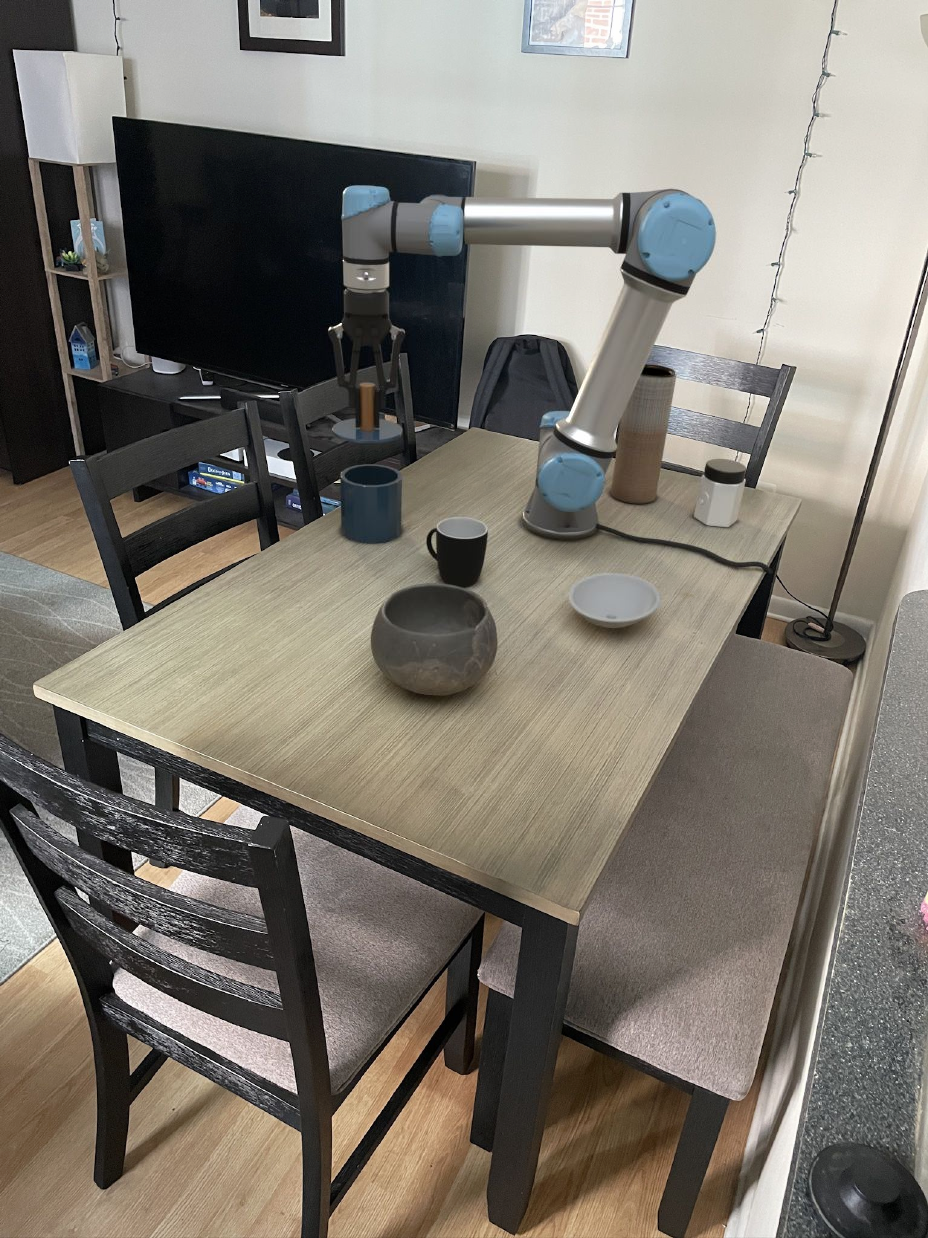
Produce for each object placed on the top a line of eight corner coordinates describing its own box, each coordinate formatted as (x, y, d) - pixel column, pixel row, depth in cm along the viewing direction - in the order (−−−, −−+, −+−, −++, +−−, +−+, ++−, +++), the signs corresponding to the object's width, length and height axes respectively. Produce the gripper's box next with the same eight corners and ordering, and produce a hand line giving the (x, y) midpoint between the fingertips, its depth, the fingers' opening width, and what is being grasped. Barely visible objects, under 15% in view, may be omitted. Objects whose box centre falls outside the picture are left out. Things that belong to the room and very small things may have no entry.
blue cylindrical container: (413, 531, 176) (414, 476, 170) (370, 548, 168) (370, 491, 162) (372, 513, 182) (372, 459, 176) (329, 529, 174) (327, 474, 168)
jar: (686, 513, 190) (696, 459, 184) (717, 508, 193) (728, 456, 187) (711, 530, 183) (723, 475, 177) (743, 525, 186) (756, 471, 180)
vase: (627, 483, 203) (646, 361, 189) (664, 497, 198) (686, 371, 184) (601, 494, 197) (618, 368, 183) (638, 508, 191) (659, 379, 177)
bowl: (510, 708, 126) (517, 632, 119) (385, 726, 121) (385, 647, 115) (473, 643, 140) (478, 572, 134) (360, 656, 136) (359, 583, 129)
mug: (494, 578, 160) (498, 526, 155) (464, 596, 154) (467, 543, 148) (441, 558, 166) (443, 507, 161) (410, 574, 159) (412, 522, 154)
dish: (626, 659, 139) (631, 631, 136) (546, 628, 145) (549, 602, 143) (671, 615, 152) (676, 589, 149) (596, 589, 158) (599, 564, 156)
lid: (416, 435, 162) (417, 385, 158) (367, 451, 154) (366, 399, 149) (368, 419, 169) (367, 370, 165) (317, 434, 161) (316, 383, 156)
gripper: (317, 291, 145) (322, 431, 157) (414, 294, 146) (412, 432, 158) (319, 282, 151) (324, 418, 163) (413, 285, 153) (410, 419, 165)
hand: (367, 425), depth 161 cm, fingers closed on lid, 3 cm apart
